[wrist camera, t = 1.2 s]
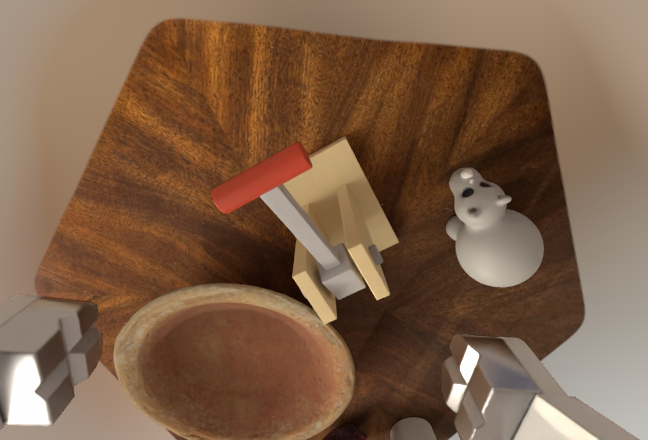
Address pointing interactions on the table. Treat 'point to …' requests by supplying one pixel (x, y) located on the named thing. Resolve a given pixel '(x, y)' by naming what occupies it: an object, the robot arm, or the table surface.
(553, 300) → the table surface
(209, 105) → the table surface
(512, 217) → the chubby cartoon animal
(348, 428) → the fruit
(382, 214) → the wooden lever stand
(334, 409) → the bowl
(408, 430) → the coffee cup
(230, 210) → the lever
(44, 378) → the robot arm
